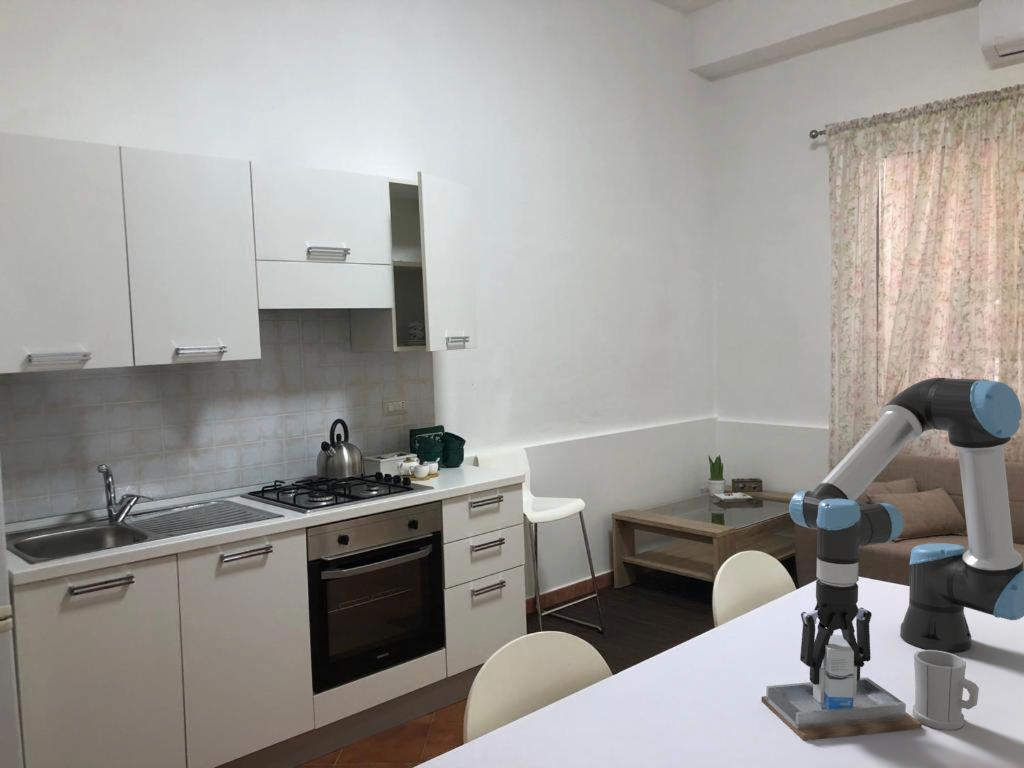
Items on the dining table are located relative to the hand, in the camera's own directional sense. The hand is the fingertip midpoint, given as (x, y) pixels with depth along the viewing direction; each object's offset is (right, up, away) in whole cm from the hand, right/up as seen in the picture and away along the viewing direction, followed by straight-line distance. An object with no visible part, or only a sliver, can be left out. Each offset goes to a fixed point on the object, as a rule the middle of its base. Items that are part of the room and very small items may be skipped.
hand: (834, 697), depth 159 cm
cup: (+20, -4, -2) cm, 20 cm away
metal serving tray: (0, -3, 0) cm, 3 cm away
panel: (+1, -3, 0) cm, 4 cm away
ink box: (0, -1, 0) cm, 1 cm away
